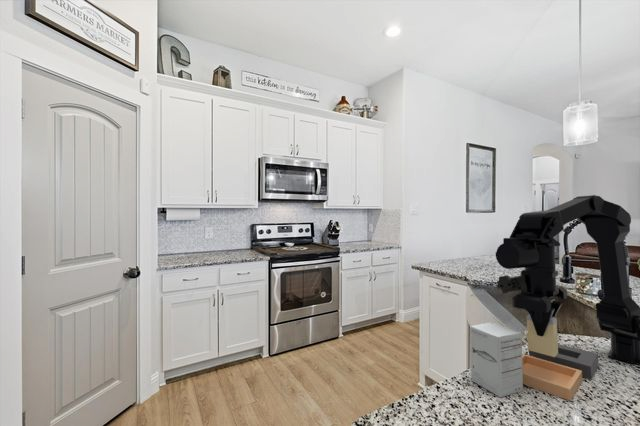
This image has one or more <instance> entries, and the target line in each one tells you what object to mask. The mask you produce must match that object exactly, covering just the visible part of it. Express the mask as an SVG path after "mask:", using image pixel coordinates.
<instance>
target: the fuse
mask: <svg viewBox="0 0 640 426" xmlns="http://www.w3.org/2000/svg"><path fill="white" fill-rule="evenodd" d="M526 331H527V332H526V335H527V350H528V351H529V350H530V351H534V352H537V353H541V354H545V355H548V356H552V357H555V356H556V355H557V354H558V344H559V342H558V341H559V339H558V318H557V317H556V316H555V317H551V319H550V322H549V324H548V327H547V329H546V331H545V334H544V336H538V335H537V333H536V330H535V327H534V325H533V322H532V319H531V316H530V314H529V313H528V314H526Z"/></svg>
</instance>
